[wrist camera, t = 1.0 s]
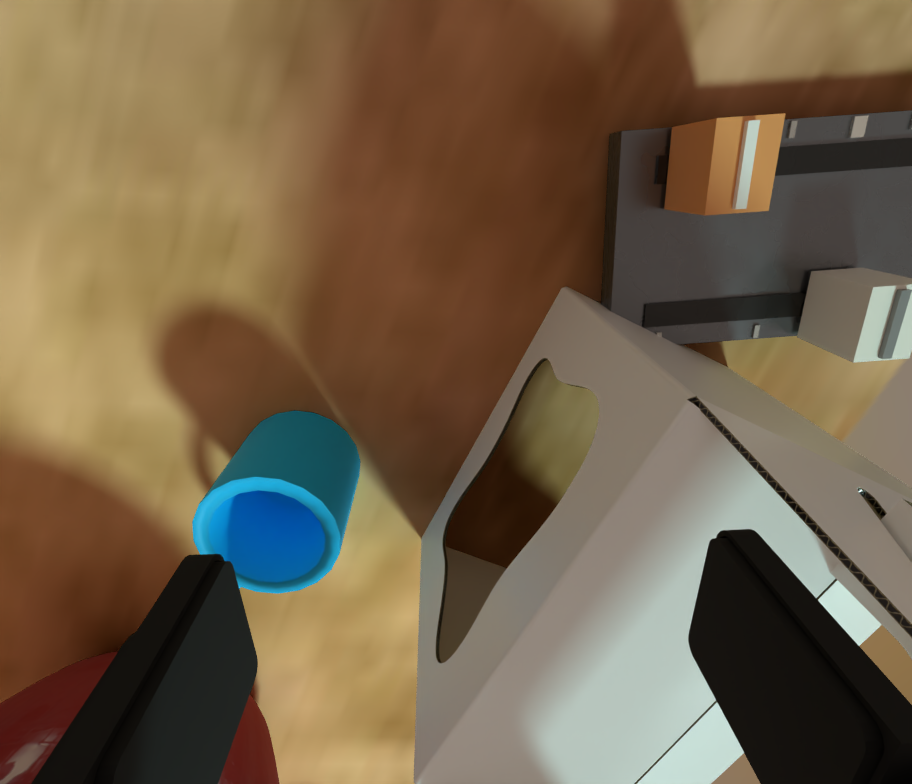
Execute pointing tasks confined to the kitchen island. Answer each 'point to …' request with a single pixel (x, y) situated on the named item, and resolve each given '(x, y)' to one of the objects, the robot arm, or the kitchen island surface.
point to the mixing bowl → (61, 697)
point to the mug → (282, 503)
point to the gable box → (637, 567)
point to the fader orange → (723, 165)
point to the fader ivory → (858, 314)
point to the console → (756, 229)
